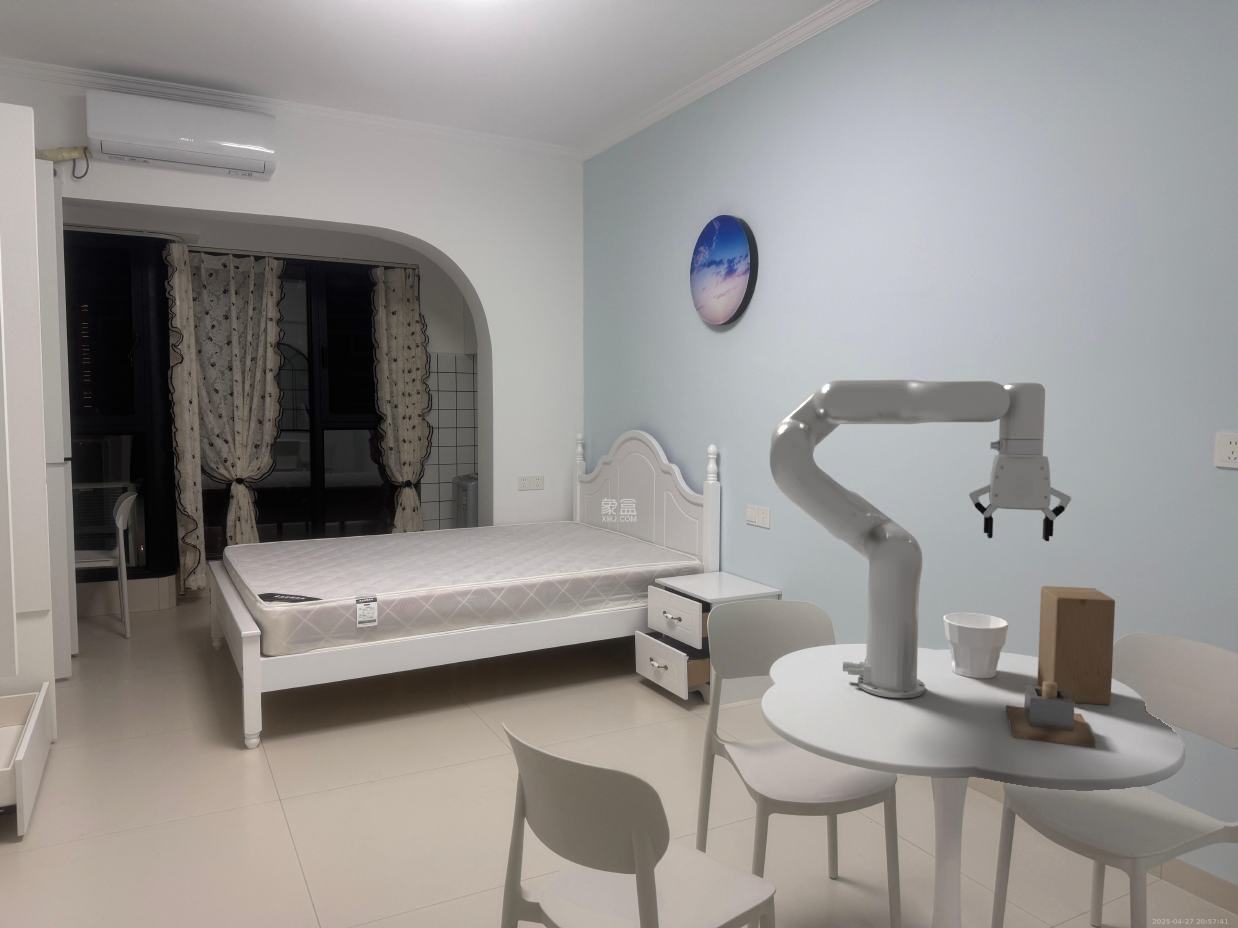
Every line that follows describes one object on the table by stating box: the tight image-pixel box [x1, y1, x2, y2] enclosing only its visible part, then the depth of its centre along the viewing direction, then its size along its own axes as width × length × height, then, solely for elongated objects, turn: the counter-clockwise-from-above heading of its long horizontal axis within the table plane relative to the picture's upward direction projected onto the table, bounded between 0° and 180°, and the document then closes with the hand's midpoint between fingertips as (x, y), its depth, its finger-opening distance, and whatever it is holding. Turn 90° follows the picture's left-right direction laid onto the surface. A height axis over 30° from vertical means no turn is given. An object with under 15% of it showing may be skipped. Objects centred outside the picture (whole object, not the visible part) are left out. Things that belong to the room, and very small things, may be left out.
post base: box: [1005, 681, 1096, 748], centre depth 139 cm, size 12×12×8 cm
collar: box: [1023, 684, 1075, 732], centre depth 139 cm, size 7×7×5 cm
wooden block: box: [1037, 585, 1116, 706], centre depth 155 cm, size 10×10×20 cm
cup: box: [943, 612, 1009, 680], centre depth 169 cm, size 12×12×11 cm
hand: (1017, 538), depth 154 cm, fingers open, 9 cm apart
